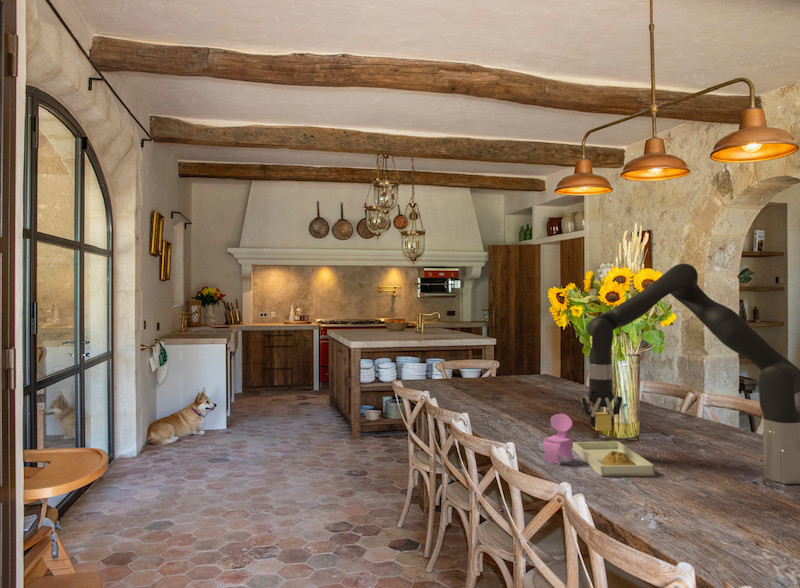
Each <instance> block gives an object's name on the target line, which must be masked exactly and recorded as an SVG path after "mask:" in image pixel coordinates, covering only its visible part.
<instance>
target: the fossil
mask: <svg viewBox="0 0 800 588" xmlns="http://www.w3.org/2000/svg"><path fill="white" fill-rule="evenodd" d="M602 462H603V465H604V466H617V465H636V464H635V463H634V462H633V461H632V460H630V459H629V458H628V457H627V456H626V455H625V454H624V453H622V452H617V451H612V452H610V453H609V454H608V455H607V456H606V457H605V458H604V459H603V460H602Z"/></svg>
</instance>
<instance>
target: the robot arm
mask: <svg viewBox="0 0 800 588" xmlns="http://www.w3.org/2000/svg"><path fill="white" fill-rule="evenodd" d="M698 278H699V274H698V271H697V269H696V268H695V267H694V266H693V265H691V264H689V263H679V264H676V265H674V266H672V267H671V268H669V270H667V271H666V272H665V273H663V274H662V275H661V276H660V277H659V278H658V279H656V280H655V281H653V282H652V283H651V284H650V285H648V286H647V287H645V288H644V289H643V290H641V291H640V292H638V293H637V294H635V295H633V296H632V297H631V298H629V299H627V300H625V301H623V302H622V303H620V304H619V305H616V306H615V307H613V308H612V309H610V310H608V311H606V312H605V311H604V313H601V314H599V315H597V316H594V317H593V318H592V319H591V320H589V322H587V325H586V331H587V333H588V334H589V336H591V347H590V348H589V354H588V355H589V356H588V357H589V359H588V360H589V361H588V362H589V365H588V366H589V368H588V395H585V396H580V397H579V400H580V403H581V408H582V410H583V411H582V412H583V414H585V415H586V416H589V420H588V421H589V425H590V426H591V428H592V427H593V428H592V429H594V428H595V417H594V416H595V413H596V412H597V411H598V409H599V408H605V410H606V413H608V414H610V415H611V422H612V427H613V426H614V423H615V422H614V421H615V420H614V416H616V415H620V411H621V408H622V407H621V406H622V402H623V397H622V396H620V395H614V393H613V391H614V389H613V388H614V386H613V376H614V375H613V367H612V346H613V340H614V330H616V329H618V328H620V327H625V326H627V325H629V324H631V323H633V322H634V321H635V322H636V320H638V319H640V318H641V317H642V316H644V315H645V314H647V313H648V312H649V311H651V309H652V308H654V306H656V304H657V303H659V302H660V301H661V300H662V299H664V298H665V297H667V296H669V295H671V296H672V297H674V299H676V300H677V301H679V303H681V304H682V305H683V306H684V307H686V308H687V309H688V310H689V311H691V313H693V314H694V315H695V316H696V318H697V319H698V320H699V321H700V322H701V323H702V324H703V325H704V326H705V327H706V328H707V329H708V330H709V331H710V332H711V334H713V335H714V336H715V338H717V339H718V341H720V343H721V344H723V345H724V346H725V347H727V348H729V349H730V350H731V351H733V352H735V353H736V354H738V355H740V356H742V357H744V358H745V359H747V360H748V361H750V362H751V363H753V364H754V365H755V366H756V368H758V369H759V370H760V373H759V376H758V395H759V397H758V398H759V406H760V407H759V408H760V409H761V412H762V419H763V420H762V423H763V424H762V427H763V428H762V430H763V431H762V432H763V435H762V436H763V438H762V439H763V470H764V471H763V474H764V477H765V478H766V479H767V480H769V481H773V482H777V483H780V484H783V485H786V484H787V485H790V484H798V485H799V484H800V410H799V409H797V406H796V395H797V394H799V393H800V369H799V367H798V366H796V365H795V364H794V363H792V362H791V361H790V360H789V359H787V358H786V357H785V356H784V355H782V354H781V353H779V352H778V351H777V350H775V349H774V348H773V347H772V346H771V345H770V344H769V343H767V341H766V340H765V339H763V337H762V336H761V335H760V334H758V332H757V331H755V330H754V328H753V327H751V326H750V325H749V324H748V323H747V322H746V321H745V320H744V319H743V318H742V317H741V316H740V315H739V314H738V313H737V312H736V311H734V310H732V308H730V307H728V306H726V305H724V304H721V303H719V302H717V301H715V300H713V299H711V298H710V297H709V296H708V294H706V293H705V292H704V291H703V290H702V289H701V287H700V286H699V285H698ZM612 401H613V402H614V403H613V404H614V405H613V407H612V404H611V403H612ZM589 402H591V404H590V406H589V407H590V408H589V407H588V403H589Z"/></svg>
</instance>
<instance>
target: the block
mask: <svg viewBox="0 0 800 588" xmlns="http://www.w3.org/2000/svg"><path fill="white" fill-rule="evenodd" d="M594 417H595V428H593V427H592V426H591V428H592V429H593V430H595V431H597V432H599V431H601V432H602V431H613V426H612V422H611V415H610V414H608V413H607V411H606V412H603V411H602V412H597V411H596V413H595V416H594Z"/></svg>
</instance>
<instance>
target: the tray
mask: <svg viewBox="0 0 800 588" xmlns="http://www.w3.org/2000/svg"><path fill="white" fill-rule="evenodd" d="M573 450H574V451H575V452H576V453H577V454H578V455H579V456H580V457H581V458H582V459H581V458H580V457H579V456H578V455H577V454H576V453H575V452H574V451H573ZM572 451H573V452H574V453H575V454H576V455H577V456H578V457H579V458H580V459H581V460H582V461H583V462H585V463H586V462H587V463H588V464H589V465H590V466H591V467H592V468H591V467H590V466H589V465H588V464H587V463H586V464H587V465H588V466H589V467H590V468H591V469H592V470H594V471H595V472H596V473H597V474H598V475H599V474H600V475H601V476H608V477H651V476H652V477H653V476H656V466H655V465H654V464H653V463H652V462H650V461H648V460H647V459H645V458H644V457H642V456H641V455H639V454H638V453H637V452H635V451H633V449H631V448H629V447H627V446H626V445H625V444H623V443H622V442H620V441H617V440H616V441H614V440H613V441H572ZM612 451H617V452H622V453H624V454H625V455H626V456H627V457H628V458H629V459H630V460H632V461H633V462H634V463H635V464H636V465H617V466H604V465H603V462H602V460H603V459H604V458H605V457H606V456H607V455H608V454H609V453H610V452H612ZM600 475H599V476H600ZM601 476H600V477H601Z"/></svg>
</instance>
